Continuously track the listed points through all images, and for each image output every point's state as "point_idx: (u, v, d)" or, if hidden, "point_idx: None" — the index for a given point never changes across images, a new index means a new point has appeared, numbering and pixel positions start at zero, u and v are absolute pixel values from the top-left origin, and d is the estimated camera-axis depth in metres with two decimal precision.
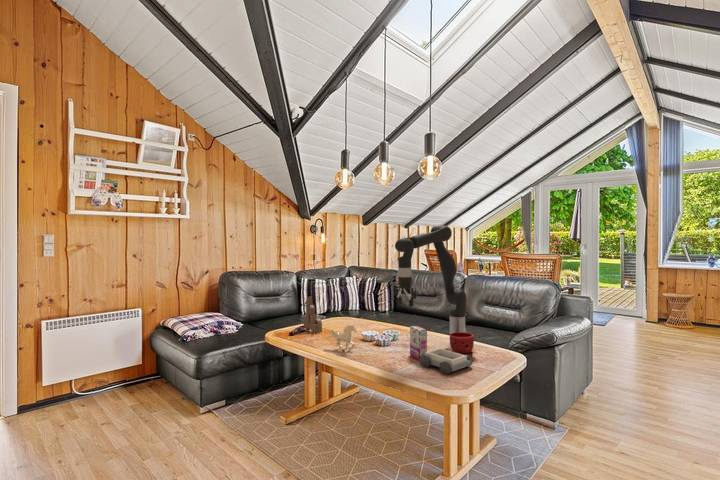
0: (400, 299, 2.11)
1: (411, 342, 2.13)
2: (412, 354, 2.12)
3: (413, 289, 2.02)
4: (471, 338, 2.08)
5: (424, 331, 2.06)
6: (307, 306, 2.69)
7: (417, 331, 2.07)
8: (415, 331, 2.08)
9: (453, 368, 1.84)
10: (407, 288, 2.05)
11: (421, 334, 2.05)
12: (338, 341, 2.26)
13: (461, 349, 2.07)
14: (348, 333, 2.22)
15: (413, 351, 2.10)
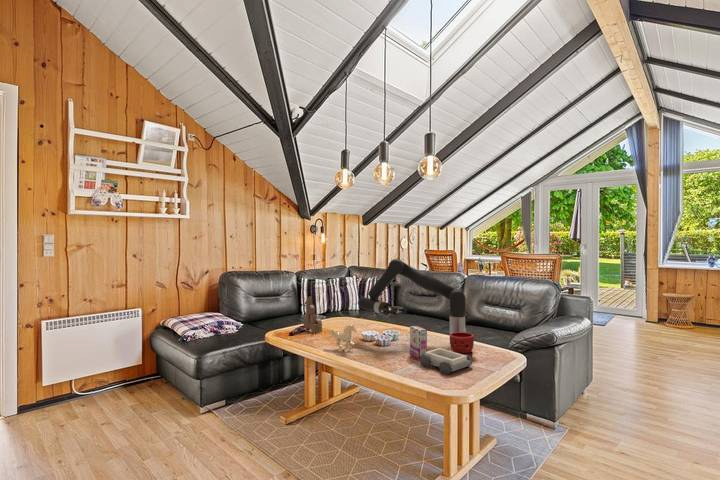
0: (402, 310, 2.25)
1: (411, 342, 2.13)
2: (412, 354, 2.12)
3: (381, 311, 2.24)
4: (471, 338, 2.08)
5: (424, 331, 2.06)
6: (307, 306, 2.69)
7: (417, 331, 2.07)
8: (415, 331, 2.08)
9: (453, 368, 1.84)
10: None
11: (421, 334, 2.05)
12: (338, 341, 2.26)
13: (461, 349, 2.07)
14: (348, 333, 2.22)
15: (413, 351, 2.10)
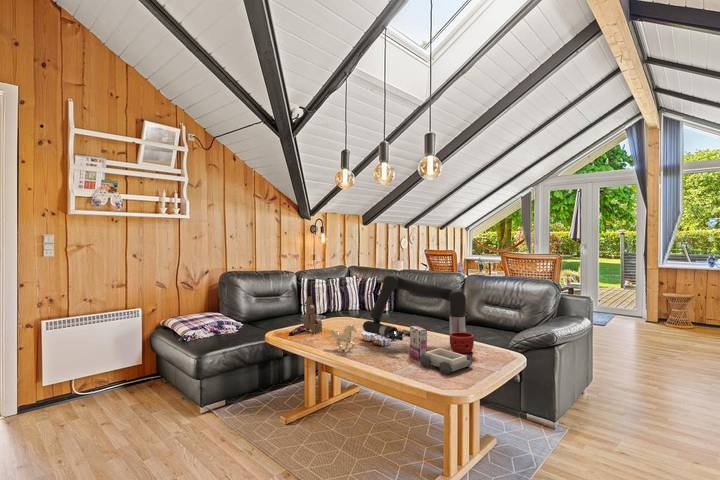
0: (409, 335, 2.22)
1: (411, 342, 2.13)
2: (412, 354, 2.12)
3: (387, 336, 2.20)
4: (471, 338, 2.08)
5: (424, 331, 2.06)
6: (307, 306, 2.69)
7: (417, 331, 2.07)
8: (415, 331, 2.08)
9: (453, 368, 1.84)
10: None
11: (421, 334, 2.05)
12: (338, 341, 2.26)
13: (461, 349, 2.07)
14: (348, 333, 2.22)
15: (413, 351, 2.10)
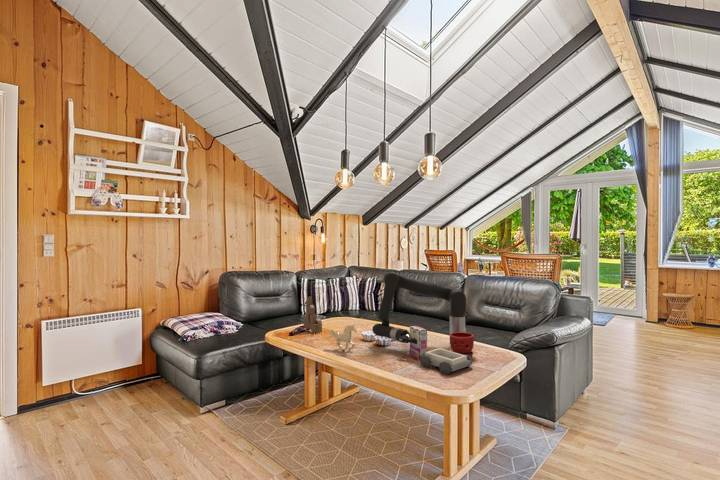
0: None
1: None
2: (412, 354, 2.12)
3: (400, 340, 2.12)
4: (471, 338, 2.08)
5: (424, 331, 2.06)
6: (307, 306, 2.69)
7: (417, 331, 2.07)
8: (415, 331, 2.08)
9: (453, 368, 1.84)
10: None
11: (421, 334, 2.05)
12: (338, 341, 2.26)
13: (461, 349, 2.07)
14: (348, 333, 2.22)
15: (413, 351, 2.10)
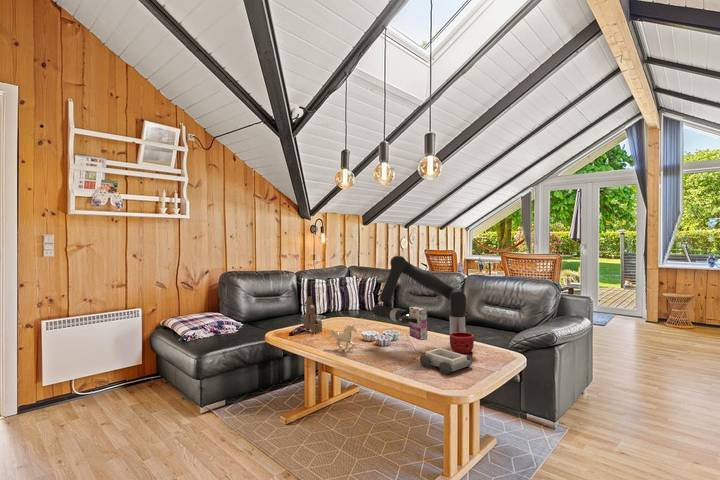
0: None
1: (411, 322, 2.13)
2: (412, 334, 2.12)
3: (400, 320, 2.12)
4: (471, 338, 2.08)
5: (424, 311, 2.06)
6: (307, 306, 2.69)
7: (417, 311, 2.06)
8: (415, 311, 2.08)
9: (453, 368, 1.84)
10: None
11: (421, 314, 2.05)
12: (338, 341, 2.26)
13: (461, 349, 2.07)
14: (348, 333, 2.22)
15: (413, 331, 2.10)
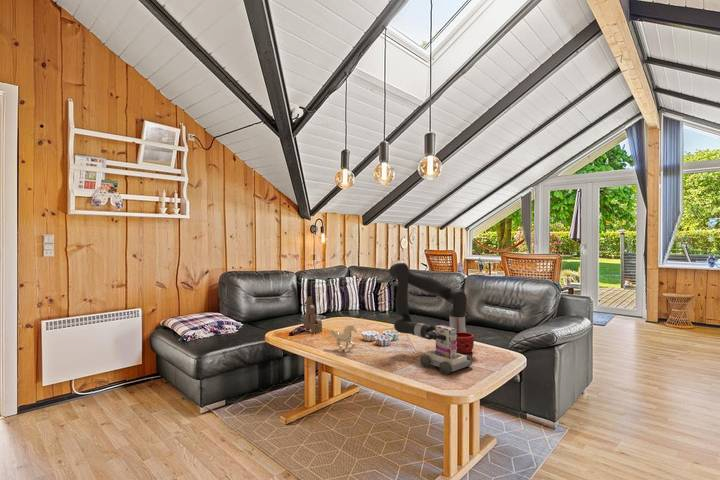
0: None
1: (438, 343, 1.97)
2: None
3: (426, 336, 1.97)
4: (471, 338, 2.08)
5: (454, 330, 1.91)
6: (307, 306, 2.69)
7: (447, 330, 1.91)
8: (444, 331, 1.93)
9: (453, 368, 1.84)
10: None
11: (451, 334, 1.90)
12: (338, 341, 2.26)
13: (461, 349, 2.07)
14: (348, 333, 2.22)
15: (441, 352, 1.95)
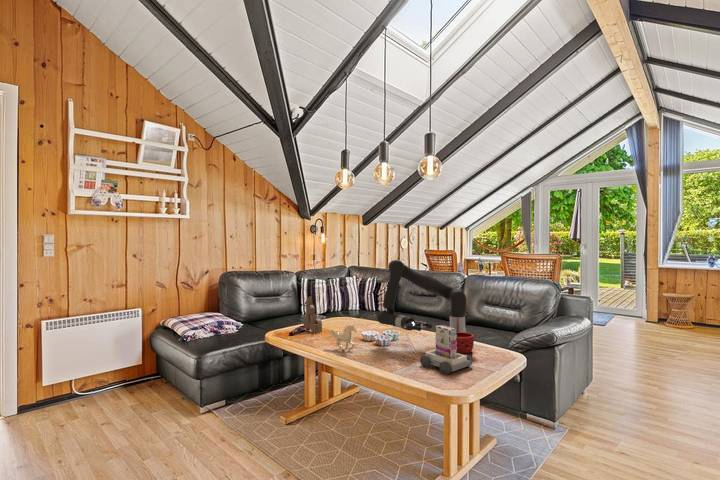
0: (427, 325, 2.12)
1: (437, 343, 1.97)
2: None
3: (404, 327, 2.10)
4: (471, 338, 2.08)
5: (454, 330, 1.91)
6: (307, 306, 2.69)
7: (446, 331, 1.91)
8: (444, 331, 1.93)
9: (453, 368, 1.84)
10: None
11: (451, 334, 1.90)
12: (338, 341, 2.26)
13: (461, 349, 2.07)
14: (348, 333, 2.22)
15: (441, 352, 1.95)
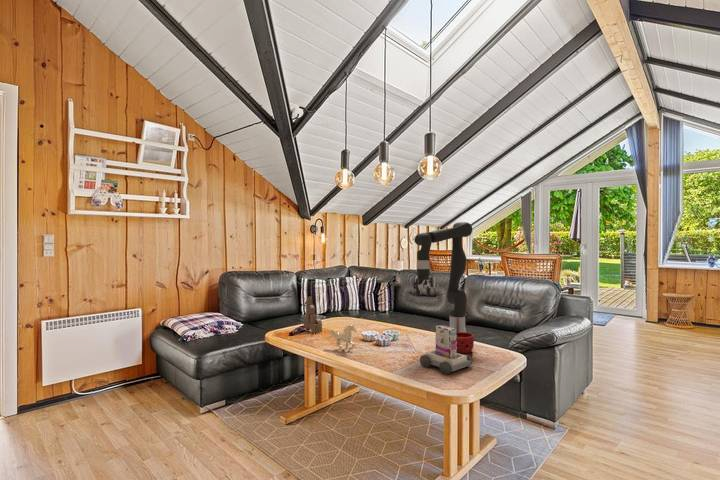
0: (428, 290, 2.25)
1: (437, 343, 1.97)
2: None
3: (414, 280, 2.19)
4: (471, 338, 2.08)
5: (454, 330, 1.91)
6: (307, 306, 2.69)
7: (446, 331, 1.91)
8: (444, 331, 1.93)
9: (453, 368, 1.84)
10: None
11: (451, 334, 1.90)
12: (338, 341, 2.26)
13: (461, 349, 2.07)
14: (348, 333, 2.22)
15: (441, 352, 1.95)
